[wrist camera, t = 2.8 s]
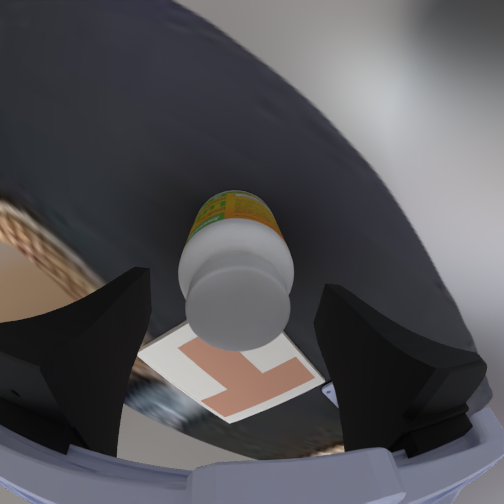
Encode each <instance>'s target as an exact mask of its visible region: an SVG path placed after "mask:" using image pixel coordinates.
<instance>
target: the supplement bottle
mask: <svg viewBox="0 0 504 504" xmlns="http://www.w3.org/2000/svg"><path fill="white" fill-rule="evenodd" d="M178 277H179V284H180V288H181V291H182V293H183V295H184V297H185V299H186V304H185V312H186V318H187V321H188V323H189V325H190V327H191V329H192V330H193V332H194V333H195V334H196V335H197V336H198V337H199V338H200V339H201V340H202V341H204V342H205V343H207V344H209V345H211V346H213V347H215V348H218V349H221V350H225V351H233V352H243V351H250V350H254V349H257V348H260V347H263V346H265V345H267V344H268V343H270V342H272V341H273V340H274V339H276V338H277V337H278V336H279V335H280V334H281V332H282V331H283V330H284V328H285V327H286V325H287V323H288V320H289V316H290V300H289V296H288V295H289V293H290V291H291V288H292V284H293V279H294V266H293V261H292V257H291V254H290V252H289V249H288V246H287V244H286V242H285V240H284V238H283V236H282V234H281V232H280V229H279V227H278V225H277V223H276V221H275V218H274V216H273V214H272V212H271V210H270V209H269V207H268V206H267V205H266V204H265V203H264V202H263V201H262V200H261V199H260V198H258V197H257V196H255V195H253V194H251V193H248V192H245V191H238V190H231V191H225V192H222V193H219V194H217V195H215V196H213V197H212V198H210V199H209V200H208V201H207V202H206V203H205V204H204V205H203V206H202V208H201V209H200V211H199V212H198V214H197V216H196V219H195V221H194V224H193V226H192V229H191V231H190V234H189V236H188V239H187V242H186V244H185V247H184V249H183V252H182V255H181V259H180V263H179V269H178Z"/></svg>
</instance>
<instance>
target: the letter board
mask: <svg viewBox="0 0 504 504" xmlns="http://www.w3.org/2000/svg"><path fill="white" fill-rule="evenodd" d="M137 356H138V357H139V358H141V359H142V360H143V361H144V362H145V363H147V364H148V365H149V366H150V367H151V368H153V369H154V370H155V371H156V372H158V373H159V374H160V375H161V376H163V377H164V378H165V379H166V380H168V381H169V382H170V383H172V384H173V385H174V386H176V387H177V388H178V389H180V390H181V391H182V392H184V393H185V394H186V395H188V396H189V397H191V398H192V399H193V400H195V401H196V402H198V403H199V404H201V405H202V406H204V407H205V408H206V409H208V410H209V411H211V412H212V413H214V414H215V415H217V416H219V417H220V418H222V419H223V420H225V421H226V422H228V423H233V422H235V421H238V420H241V419H244V418H246V417H249V416H251V415H254V414H256V413H259V412H261V411H264V410H266V409H269V408H271V407H273V406H276V405H278V404H280V403H283V402H285V401H287V400H289V399H292V398H294V397H296V396H298V395H300V394H302V393H304V392H306V391H308V390H310V389H312V388H314V387H316V386H318V385H320V384H322V383H324V382H325V379H324V377H323V376H322V375H321V374H320V373H319V371H318V370H317V369H316V368H315V367H314V366H313V365H312V363H311V362H310V361H309V360H308V359H307V358H306V357H305V355H304V354H303V353H302V352H301V351H300V350H299V348H298V347H297V346H296V345H295V344H294V343H293V342H292V340H291V339H290V338H289V337H288V336H287V335H286V333H285V332H284V331H282V332H281V334H280V335H279V336H278V337H277V338H276V339H274V340H273V341H272V342H270V343H268V344H267V345H265V346H263V347H260V348H257V349H254V350H250V351H243V352H233V351H225V350H221V349H218V348H215V347H213V346H211V345H209V344H207V343H205V342H204V341H202V340H201V339H200V338H199V337H198V336H197V335H196V334H195V333H194V332H193V330H192V329H191V327H190V325H189V323H188V321H187V320H186V321H184V322H183V323H181V324H179V325H178V326H176V327H174V328H173V329H171V330H169V331H168V332H166V333H164V334H163V335H161V336H159V337H158V338H156V339H154V340H153V341H151V342H149V343H147V344H146V345H144V346H142V347H141V348H140V349H139V352H138V354H137Z"/></svg>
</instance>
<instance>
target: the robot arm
mask: <svg viewBox="0 0 504 504" xmlns="http://www.w3.org/2000/svg"><path fill="white" fill-rule="evenodd" d="M151 311H152V308H151V291H150V268H141V267H134V268H132V269H130V270H129V271H127V272H125V273H124V274H122V275H121V276H119V277H118V278H116V279H114V280H113V281H111V282H110V283H108V284H107V285H105V286H103V287H102V288H100V289H98V290H96V291H95V292H93V293H91V294H89V295H88V296H86V297H84V298H82V299H80V300H78V301H76V302H73V303H71V304H69V305H67V306H64V307H62V308H59V309H56V310H53V311H51V312H48V313H45V314H42V315H38V316H34V317H31V318H26V319H22V320H17V321H10V322H3V323H0V485H1V486H3V487H5V488H6V489H8V490H9V491H11V492H13V493H14V494H16V495H18V496H19V497H21V498H23V499H25V500H26V501H28V502H30V503H32V504H452V503H453V502H454V500H455V499H456V497H457V496H458V494H459V493H460V491H461V489H462V488H463V487H464V486H466V485H468V484H469V483H471V482H472V481H474V480H475V479H477V478H478V477H479V476H480V475H482V474H483V473H484V472H485V471H487V470H488V469H490V468H491V467H492V466H493V465H495V464H496V463H497V462H498V461H499V460H501V459H502V458H503V457H504V429H503V427H502V426H501V424H500V423H499V421H498V419H497V418H496V416H495V415H494V413H493V412H492V410H491V408H490V407H487V408H485V409H483V410H481V411H479V412H476V413H475V414H473V415H472V416H470V417H469V418H468V417H467V415H466V414H465V413H466V412H467V411H468V410H469V407H468V406H467V404H466V401H467V400H468V399H469V398H470V396H471V395H472V394H473V393H474V391H475V390H476V389H477V388H478V386H479V385H480V383H481V382H482V380H483V379H484V376H485V374H486V370H487V365H486V363H485V362H484V360H483V359H482V358H481V357H480V355H478V354H477V353H475V352H470V351H465V350H461V349H457V348H453V347H450V346H446V345H443V344H440V343H437V342H435V341H432V340H430V339H427V338H425V337H423V336H420V335H418V334H416V333H414V332H412V331H410V330H408V329H406V328H404V327H402V326H400V325H398V324H397V323H395V322H393V321H392V320H390V319H389V318H387V317H386V316H384V315H382V314H381V313H379V312H378V311H376V310H375V309H374V308H372V307H371V306H369V305H368V304H366V303H365V302H364V301H362V300H361V299H360V298H358V297H357V296H355V295H354V294H353V293H351V292H350V291H348V290H347V289H345V288H343V287H342V286H340V285H334V284H325V287H324V291H323V294H322V297H321V301H320V304H319V307H318V311H317V314H316V317H315V320H314V327H315V332H316V337H317V341H318V345H319V347H320V350H321V353H322V356H323V358H324V361H325V364H326V367H327V369H328V372H329V375H330V377H331V380H332V382H330V383H329V384H327V385H325V386H323V387H322V392H323V393H324V394H325V395H326V396H327V397H328V398H329V399H330V400H331V401H332V402H333V403H334V404H335V405H336V406H337V407H338V408H339V413H340V418H341V424H342V431H343V440H344V449H345V452H343V453H337V454H331V455H324V456H316V457H307V458H297V459H283V460H258V461H235V462H218V463H214V464H210V465H205V466H201V467H198V468H196V469H195V470H193V471H191V470H181V469H174V468H166V467H160V466H154V465H148V464H143V463H138V462H133V461H128V460H124V459H120V458H117V445H118V435H119V427H120V420H121V414H122V408H123V402H124V397H125V393H126V388H127V384H128V379H129V376H130V373H131V370H132V367H133V365H134V362H135V359H136V357H137V354H138V352H139V349H140V346H141V344H142V341H143V339H144V336H145V334H146V331H147V327H148V323H149V319H150V315H151Z"/></svg>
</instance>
